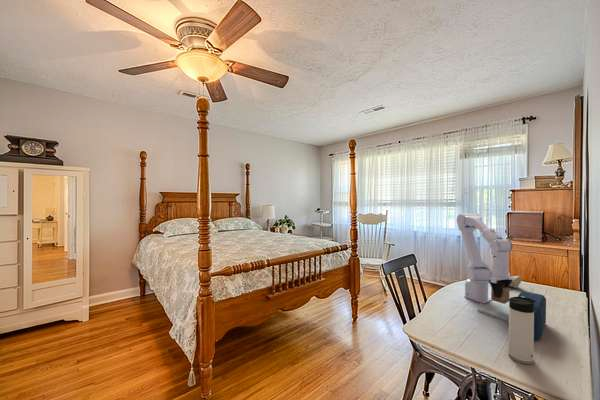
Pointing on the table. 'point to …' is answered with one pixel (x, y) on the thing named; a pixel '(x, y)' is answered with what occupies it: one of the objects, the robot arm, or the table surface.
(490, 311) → the board
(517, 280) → the ceramic sculpture
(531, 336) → the travel mug
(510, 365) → the table surface
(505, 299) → the walnut block
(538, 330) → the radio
